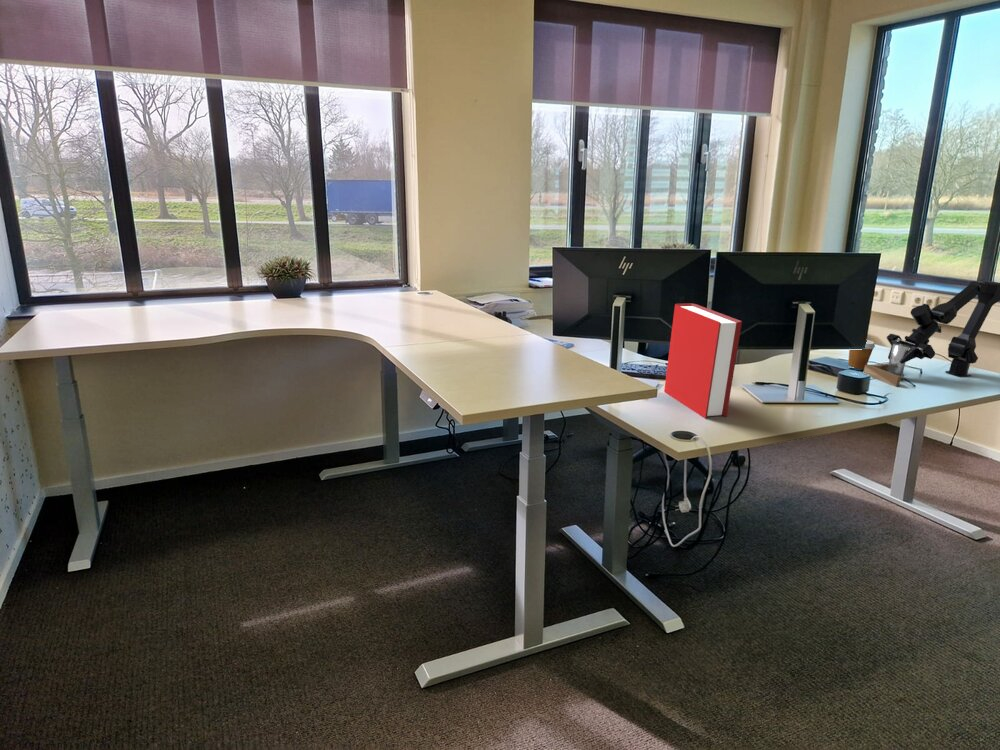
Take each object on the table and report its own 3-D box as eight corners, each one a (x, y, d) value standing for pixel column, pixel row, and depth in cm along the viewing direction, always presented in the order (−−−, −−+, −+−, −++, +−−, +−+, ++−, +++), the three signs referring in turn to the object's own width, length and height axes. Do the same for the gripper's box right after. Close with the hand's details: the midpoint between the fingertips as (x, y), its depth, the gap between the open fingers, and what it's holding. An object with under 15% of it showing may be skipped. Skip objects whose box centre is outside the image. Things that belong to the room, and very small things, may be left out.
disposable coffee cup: (853, 372, 258) (859, 344, 254) (838, 365, 267) (844, 338, 263) (874, 372, 259) (881, 344, 255) (859, 365, 268) (865, 338, 264)
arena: (892, 372, 260) (894, 363, 259) (926, 384, 245) (929, 375, 244) (863, 373, 256) (865, 364, 255) (895, 386, 242) (898, 376, 240)
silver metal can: (893, 373, 255) (900, 342, 251) (906, 378, 250) (914, 347, 245) (880, 374, 254) (888, 343, 250) (894, 379, 248) (901, 347, 244)
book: (726, 417, 204) (741, 321, 194) (705, 418, 202) (719, 322, 192) (681, 389, 229) (693, 303, 219) (662, 390, 227) (672, 303, 217)
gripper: (952, 352, 243) (923, 381, 244) (911, 340, 260) (883, 366, 261) (941, 333, 239) (911, 362, 239) (900, 322, 256) (872, 349, 256)
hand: (894, 360), depth 249 cm, fingers open, 5 cm apart
